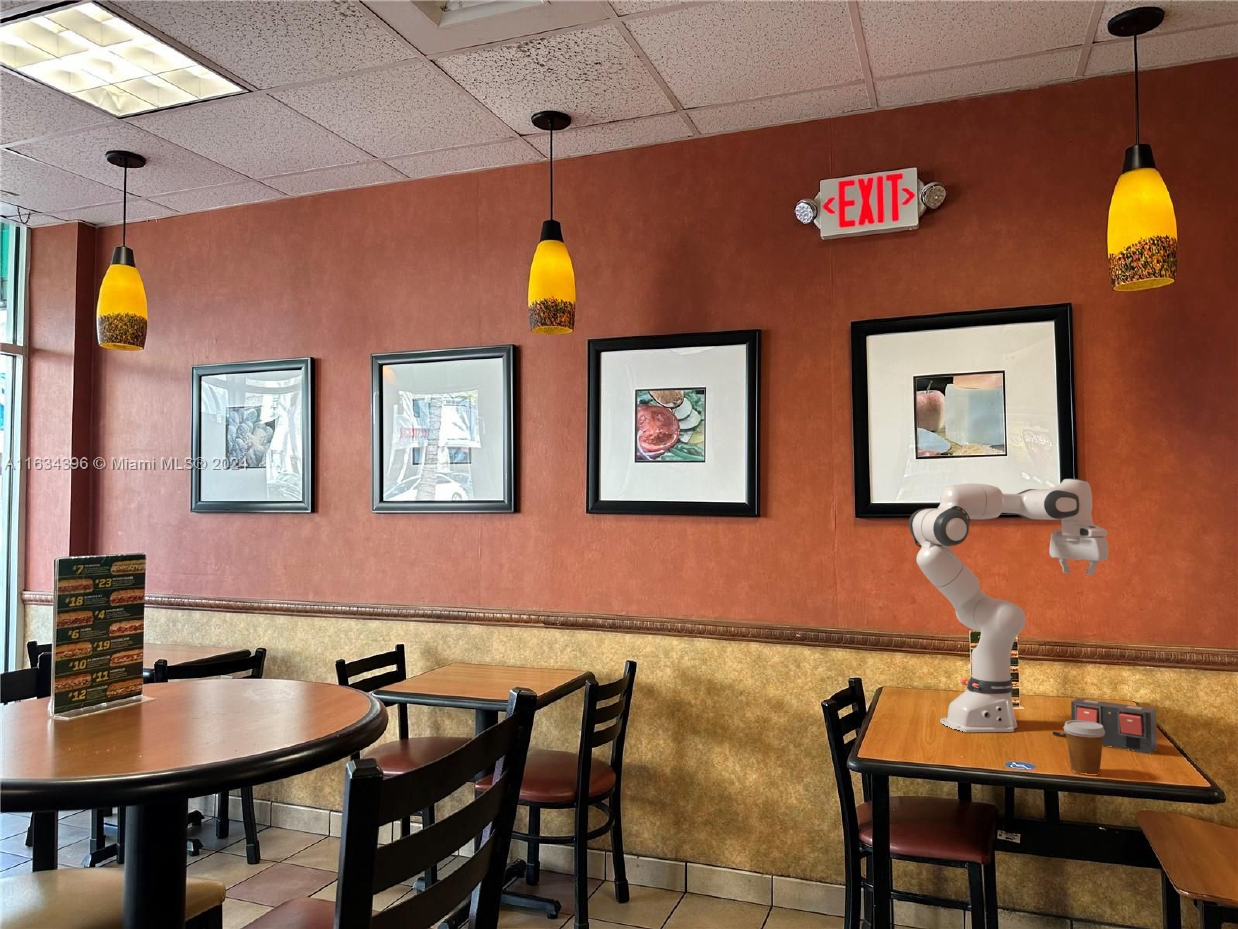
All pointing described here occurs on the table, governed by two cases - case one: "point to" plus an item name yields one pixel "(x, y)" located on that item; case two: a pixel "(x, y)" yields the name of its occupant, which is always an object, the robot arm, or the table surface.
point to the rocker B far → (1131, 724)
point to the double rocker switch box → (1111, 724)
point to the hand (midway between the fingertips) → (1078, 574)
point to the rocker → (1087, 714)
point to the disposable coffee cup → (1084, 745)
